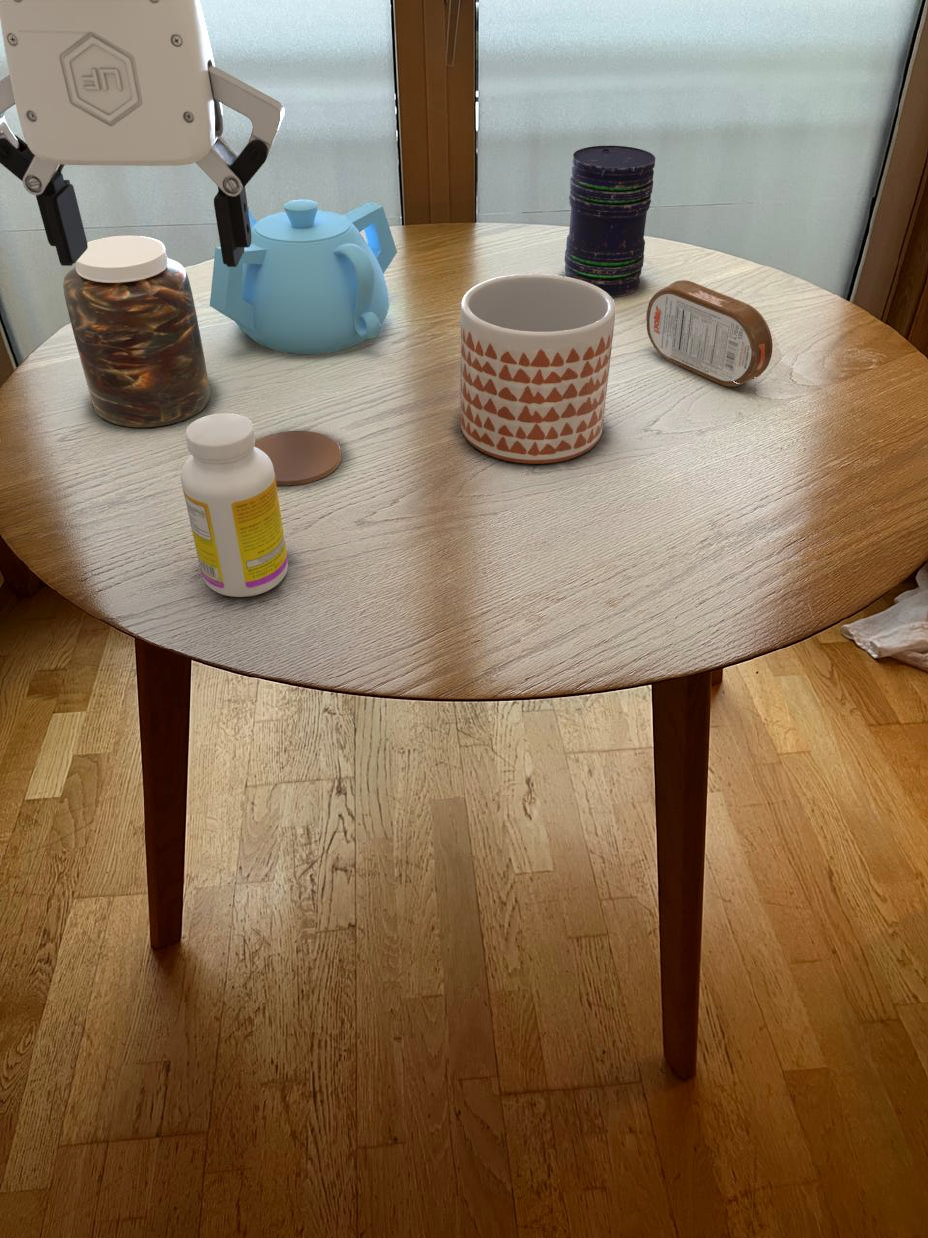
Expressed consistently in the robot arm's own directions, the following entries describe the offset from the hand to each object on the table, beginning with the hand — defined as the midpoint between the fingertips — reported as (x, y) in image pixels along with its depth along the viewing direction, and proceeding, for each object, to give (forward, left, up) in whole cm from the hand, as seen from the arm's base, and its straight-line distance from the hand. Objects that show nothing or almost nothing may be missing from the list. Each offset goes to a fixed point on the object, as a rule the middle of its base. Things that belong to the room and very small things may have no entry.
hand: (155, 258), depth 58 cm
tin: (+54, +21, -25) cm, 63 cm away
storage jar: (+55, +47, -25) cm, 77 cm away
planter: (+32, +15, -25) cm, 44 cm away
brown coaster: (+9, +17, -25) cm, 32 cm away
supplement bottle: (+2, +1, -25) cm, 26 cm away
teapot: (+17, +46, -25) cm, 55 cm away
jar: (-2, +33, -25) cm, 42 cm away
